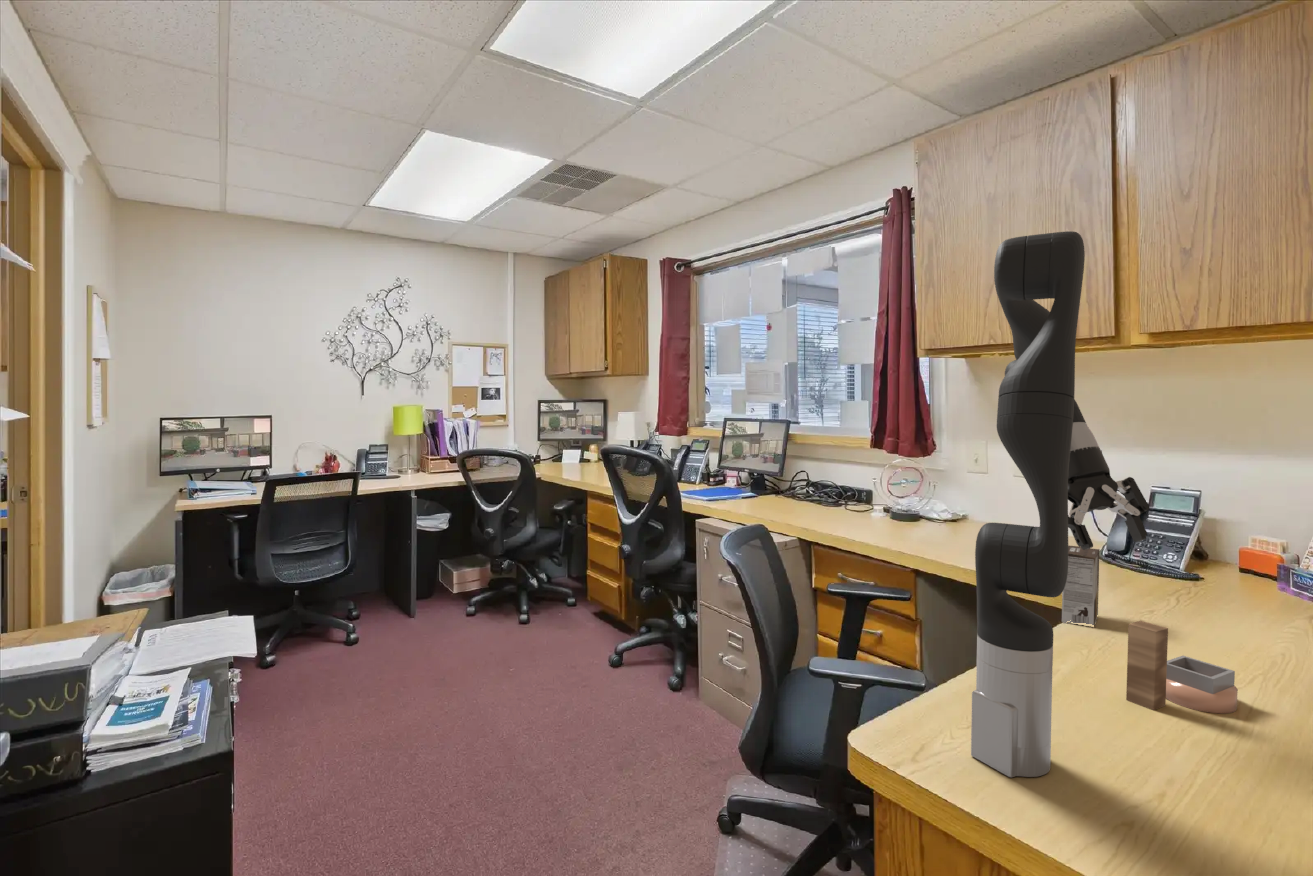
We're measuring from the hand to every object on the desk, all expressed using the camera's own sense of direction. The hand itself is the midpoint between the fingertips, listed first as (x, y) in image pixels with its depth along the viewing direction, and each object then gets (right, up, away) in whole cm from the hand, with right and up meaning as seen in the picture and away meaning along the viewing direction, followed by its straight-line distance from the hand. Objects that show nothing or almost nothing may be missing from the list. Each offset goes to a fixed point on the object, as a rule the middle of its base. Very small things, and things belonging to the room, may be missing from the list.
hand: (1114, 544), depth 103 cm
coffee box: (+22, -24, +41) cm, 53 cm away
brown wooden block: (+7, -27, +2) cm, 28 cm away
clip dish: (+16, -26, +3) cm, 31 cm away
